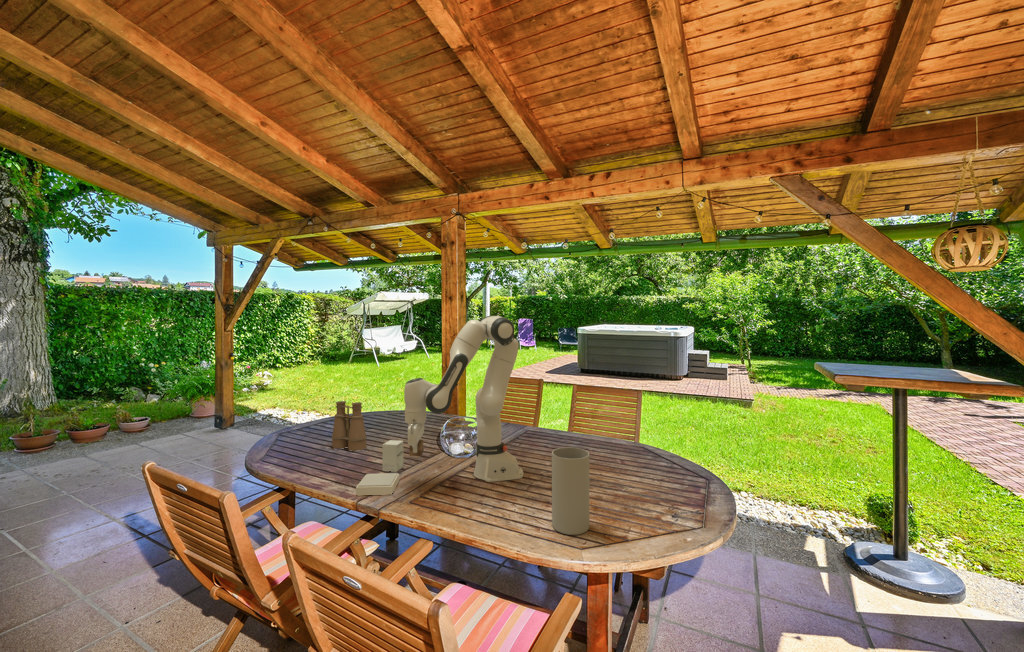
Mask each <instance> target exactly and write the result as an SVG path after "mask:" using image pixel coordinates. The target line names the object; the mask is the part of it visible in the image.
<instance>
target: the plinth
mask: <svg viewBox="0 0 1024 652" xmlns="http://www.w3.org/2000/svg"><path fill="white" fill-rule="evenodd" d="M398 482H399V483H400V473H398V472H385V473H366V474H365V476H363V478H362V479H361V480H360V482H359V483H358V484H357V486H356V487H355V496H356V495H381V494H392V493H393V494H394V492H395V490H396V489H395V487H396V485H397V483H398ZM399 483H398V484H399ZM397 486H398V485H397ZM396 488H397V487H396ZM394 489H395V490H394ZM393 491H394V492H393ZM393 494H392V495H393Z"/></svg>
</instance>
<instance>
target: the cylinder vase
mask: <svg viewBox="0 0 1024 652" xmlns="http://www.w3.org/2000/svg"><path fill="white" fill-rule="evenodd" d="M551 526H552V528H553V529H554V530H555V531H557V532H559V533H561V534H564V535H568V536H577V535H578V536H579V535H582V534H585V533H586V532H587V531H588V530H589V528H590V452H589V451H588V450H586V449H583V448H579V447H568V446H567V447H558V448H555V449H553V450H552V451H551Z"/></svg>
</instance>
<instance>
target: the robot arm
mask: <svg viewBox="0 0 1024 652" xmlns="http://www.w3.org/2000/svg"><path fill="white" fill-rule="evenodd" d="M515 337H516V336H515V325H514V323H513V322H512V321H511V319H509V318H507V317H503V316H500V315H486V316H485V317H483V318H482V319H480V320H477V319H470V320H468V321H467V322H466V323H465V324H464V325H463V326H462V328H461V329H460V330H459V332H458V334H457V335H456V337H455V339H454V340H453V342H452V345H451V346H450V347H451V348H450V350H449V364H448V368H447V369H446V371H445V373H444V375H443V376H442V378H441V379H440V382H439V384H435V383H432V382H429V381H427V380H425V379H424V378H423V377H416V378H412V379H409V380H408V381H407V382H406V383H405V385H404V389H403V391H404V393H403V395H404V396H403V398H404V399H403V402H404V422H405V424H407V425H408V426H407V445H408V447H409V446H412V448H413V453H417V452H418V447H417V444H418V442H419V440H422V439H421V438H422V437H423V434H424V432H425V424H426V422H427V409H428V411H430V412H431V413H432V414H437V415H438V414H443V413H445V412H447V411H448V410H449V408H450V406H451V405H452V399H453V393H454V391H455V388H456V386H458V383H459V381H460V380H461V377H462V376H463V373H464V372H465V369H467V367H468V365H470V363H471V362H472V360H473V359H474V357H475V356H476V354H477V352H478V350H479V349H480V347H481V345H482V344H483V343H484V342H485V340H487V339H489V340H491V341H493V342H494V346H493V347H494V348H493V351H492V353H491V356H490V360H489V362H488V366H487V368H486V371H485V375H484V381H483V384H482V387H480V388H479V389H478V390H477V391H476V393H475V415H476V417H475V418H476V443H475V457H476V459H475V460H476V461H475V466H474V467H475V468H474V471H473V477H475V478H477V479H479V480H483V481H485V482H488V483H493V482H501V481H503V482H505V481H512V480H521V479H522V478H524V469H523V468H522V467H521V466H519V463H518V459H517V458H516V457H515V456H514V455H513V454H511V453H510V452H508V447H507V445H506V443H505V442H503V441H502V422H501V421H502V420H501V412H502V410H503V408H504V405H505V404H504V403H505V399H506V395H507V391H508V386H509V382H510V378H511V375H512V372H513V369H514V366H515V363H516V360H517V358H518V357H517V356H518V352H519V346H520V344H519V341H518V340H517V339H516V338H515Z"/></svg>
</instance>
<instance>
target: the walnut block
mask: <svg viewBox="0 0 1024 652" xmlns="http://www.w3.org/2000/svg"><path fill="white" fill-rule="evenodd" d="M408 447H409V456H410V457H413V456H414V457H415V456H417V457H418V456H423V454H424V449H425V448H424V447H425V446H424V439H421V440H419V442H418V444H417V447H418V452H417V453H413V448H412V446H409V445H408Z"/></svg>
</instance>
